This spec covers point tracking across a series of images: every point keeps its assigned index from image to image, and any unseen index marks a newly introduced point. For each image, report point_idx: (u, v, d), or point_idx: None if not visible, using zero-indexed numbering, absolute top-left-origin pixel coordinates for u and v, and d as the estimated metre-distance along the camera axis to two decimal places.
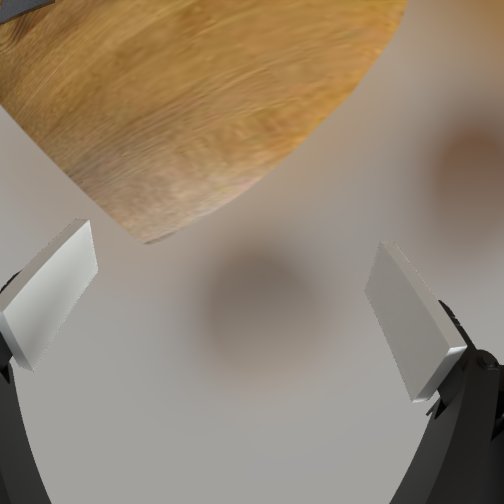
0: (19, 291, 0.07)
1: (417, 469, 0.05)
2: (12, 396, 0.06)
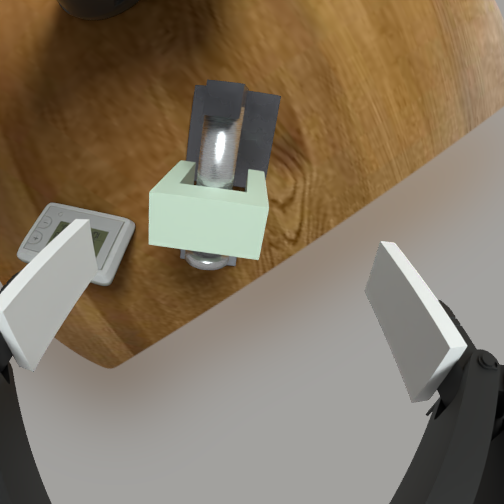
0: (19, 291, 0.07)
1: (417, 469, 0.05)
2: (12, 396, 0.06)
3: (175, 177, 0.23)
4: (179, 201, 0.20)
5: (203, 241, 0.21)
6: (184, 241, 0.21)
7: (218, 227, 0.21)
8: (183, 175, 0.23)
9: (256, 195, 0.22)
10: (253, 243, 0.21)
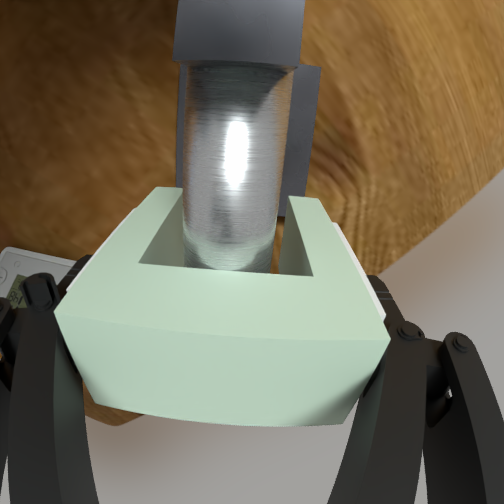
0: None
1: (351, 452, 0.06)
2: (78, 387, 0.07)
3: (132, 241, 0.09)
4: (134, 339, 0.06)
5: (215, 410, 0.08)
6: (169, 408, 0.08)
7: (252, 389, 0.07)
8: (153, 230, 0.10)
9: (340, 286, 0.08)
10: (337, 404, 0.08)
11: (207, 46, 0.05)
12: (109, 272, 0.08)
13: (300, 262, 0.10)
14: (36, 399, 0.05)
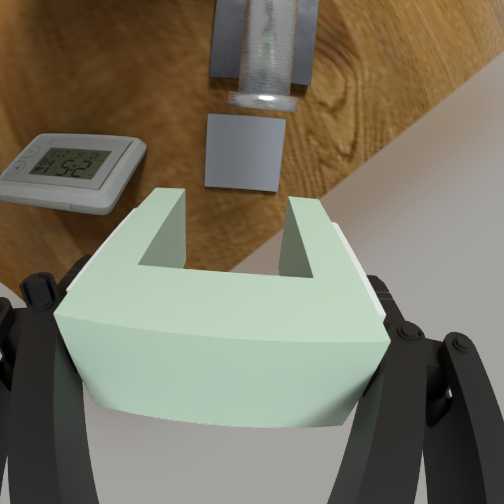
0: None
1: (351, 452, 0.06)
2: (78, 387, 0.07)
3: (132, 242, 0.09)
4: (134, 341, 0.06)
5: (215, 412, 0.08)
6: (169, 409, 0.08)
7: (252, 391, 0.07)
8: (153, 231, 0.10)
9: (340, 287, 0.08)
10: (337, 406, 0.08)
11: None
12: (109, 274, 0.08)
13: (300, 263, 0.10)
14: (36, 399, 0.05)
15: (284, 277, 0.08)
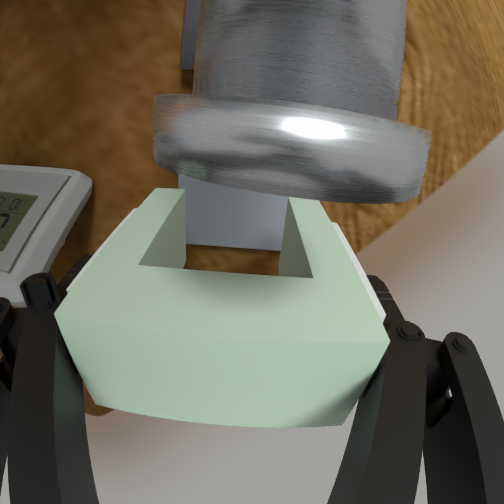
0: None
1: (351, 452, 0.06)
2: (78, 387, 0.07)
3: (132, 243, 0.09)
4: (134, 341, 0.06)
5: (215, 411, 0.08)
6: (169, 409, 0.08)
7: (252, 390, 0.07)
8: (153, 232, 0.10)
9: (340, 287, 0.08)
10: (336, 406, 0.08)
11: None
12: (109, 274, 0.08)
13: (300, 263, 0.11)
14: (36, 399, 0.05)
15: (284, 277, 0.08)
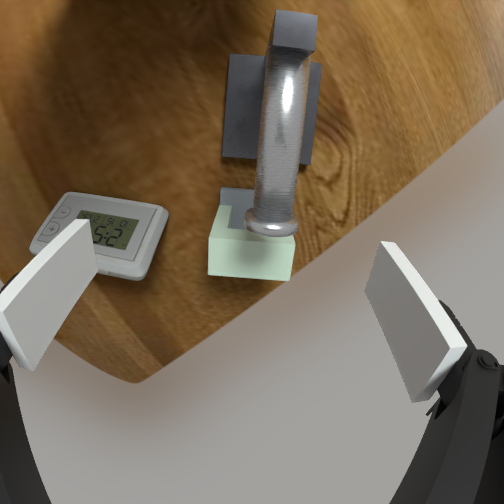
0: (19, 291, 0.07)
1: (417, 469, 0.05)
2: (12, 396, 0.06)
3: (222, 223, 0.31)
4: (231, 243, 0.28)
5: (249, 270, 0.30)
6: (235, 271, 0.30)
7: (260, 260, 0.29)
8: (227, 220, 0.32)
9: None
10: (285, 269, 0.29)
11: (285, 42, 0.14)
12: (219, 230, 0.30)
13: None
14: None
15: None
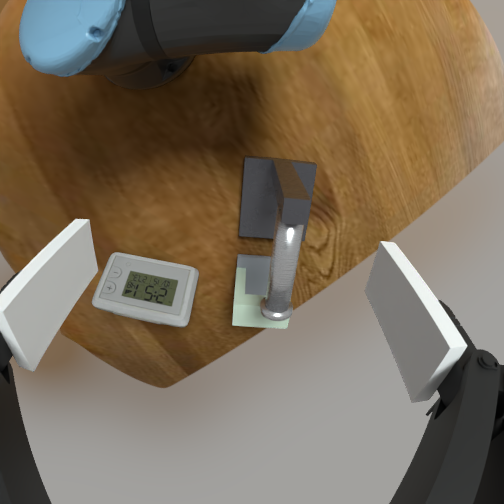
0: (19, 291, 0.07)
1: (417, 469, 0.05)
2: (12, 396, 0.06)
3: (240, 288, 0.45)
4: (249, 307, 0.42)
5: (260, 323, 0.43)
6: (250, 323, 0.43)
7: None
8: (244, 285, 0.46)
9: None
10: (284, 322, 0.43)
11: (288, 220, 0.27)
12: (240, 296, 0.43)
13: None
14: None
15: None
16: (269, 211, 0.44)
